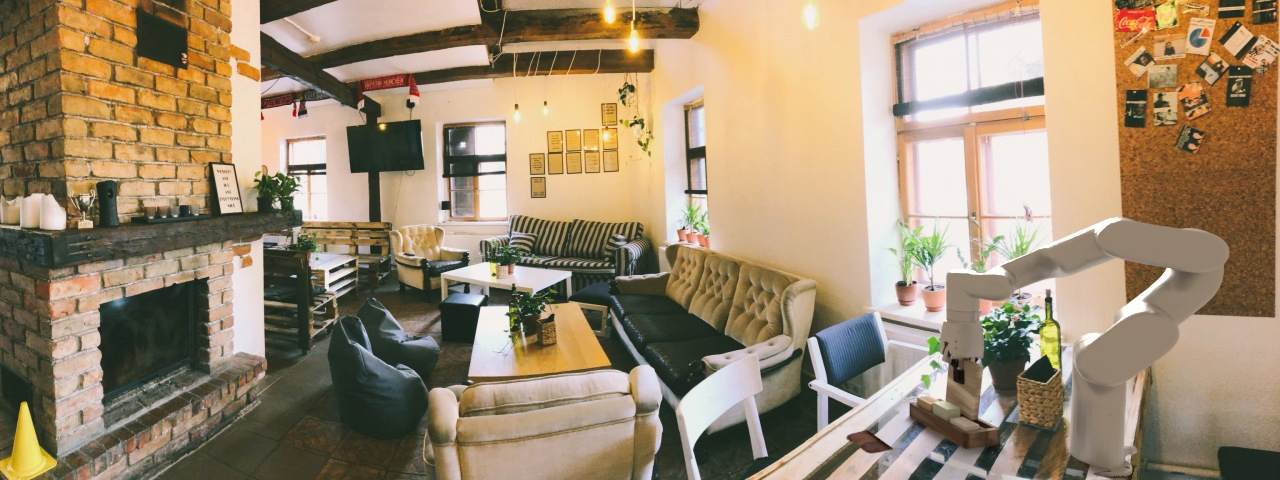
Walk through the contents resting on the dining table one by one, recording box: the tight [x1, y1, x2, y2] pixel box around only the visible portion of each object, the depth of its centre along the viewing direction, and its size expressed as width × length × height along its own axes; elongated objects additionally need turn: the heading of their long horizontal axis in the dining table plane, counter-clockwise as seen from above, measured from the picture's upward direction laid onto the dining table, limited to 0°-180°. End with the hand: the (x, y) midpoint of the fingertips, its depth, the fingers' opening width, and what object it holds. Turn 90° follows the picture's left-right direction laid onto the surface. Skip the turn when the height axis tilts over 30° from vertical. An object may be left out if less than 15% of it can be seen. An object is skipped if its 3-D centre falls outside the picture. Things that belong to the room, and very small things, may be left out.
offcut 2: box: [950, 417, 979, 432], centre depth 131 cm, size 4×5×5 cm
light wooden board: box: [944, 357, 984, 420], centre depth 136 cm, size 2×9×15 cm, turn 10°
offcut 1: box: [916, 395, 940, 413], centre depth 142 cm, size 4×5×6 cm
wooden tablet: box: [846, 429, 894, 454], centre depth 137 cm, size 26×2×10 cm
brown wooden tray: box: [908, 398, 1002, 450], centre depth 137 cm, size 10×20×6 cm, turn 10°
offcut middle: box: [933, 400, 960, 423], centre depth 136 cm, size 4×5×7 cm
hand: (962, 381), depth 136 cm, fingers closed on light wooden board, 1 cm apart
